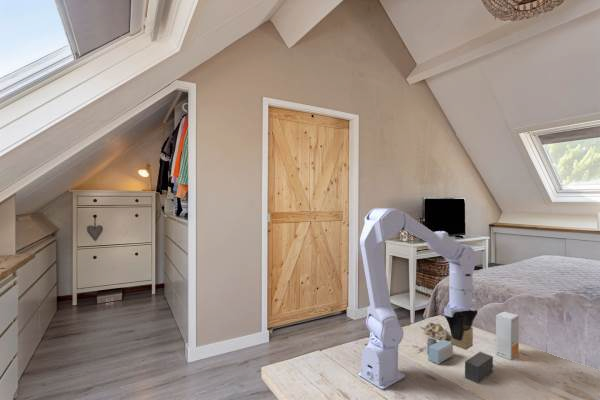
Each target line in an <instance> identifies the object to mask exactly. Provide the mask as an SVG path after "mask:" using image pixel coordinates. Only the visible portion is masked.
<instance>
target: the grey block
mask: <svg viewBox="0 0 600 400" xmlns="http://www.w3.org/2000/svg"><path fill="white" fill-rule="evenodd" d="M493 362H494V356H493V355H491V354H490V355H489V354H488V353H485V352H481V351H479V352H477V353H476V354H474V355H473V356H471V357H470V358H467V360H465V361H464V379H467V380H469V381H471V382H474V383H476V384H480V383H482V381H484V380H485V379H487V378H488V377H489V376H490V375H491V374H493V372H494V371H493V370H494V363H493Z"/></svg>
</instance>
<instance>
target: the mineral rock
mask: <svg viewBox="0 0 600 400" xmlns="http://www.w3.org/2000/svg"><path fill="white" fill-rule="evenodd" d="M424 334H425V335H427V336H430V337H432V338H433V339H435V340H439V341H441V340H445V341H448V342H451V334H450V332H448V330H446V329H444V327H443V326H442V324H441V323H433V322H428V323H427V324H426V325H425V327H424Z"/></svg>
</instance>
